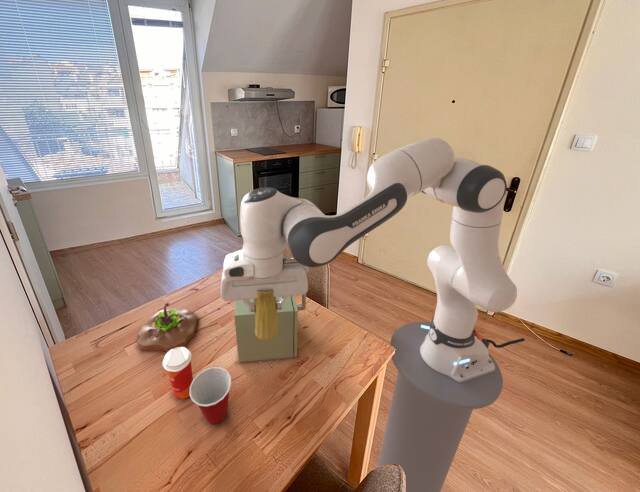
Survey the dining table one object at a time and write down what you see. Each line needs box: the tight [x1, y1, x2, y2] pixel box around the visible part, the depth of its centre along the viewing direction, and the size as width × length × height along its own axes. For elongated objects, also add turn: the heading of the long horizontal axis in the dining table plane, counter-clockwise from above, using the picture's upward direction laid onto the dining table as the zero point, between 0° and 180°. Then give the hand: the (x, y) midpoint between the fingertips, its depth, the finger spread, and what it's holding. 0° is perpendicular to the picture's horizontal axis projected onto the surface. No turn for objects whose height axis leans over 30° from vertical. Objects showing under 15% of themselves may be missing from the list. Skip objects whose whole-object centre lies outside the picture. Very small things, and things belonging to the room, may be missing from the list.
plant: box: [136, 301, 199, 353], centre depth 106 cm, size 20×20×11 cm
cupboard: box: [233, 296, 294, 363], centre depth 101 cm, size 18×20×20 cm
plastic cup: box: [189, 366, 232, 425], centre depth 78 cm, size 11×11×12 cm
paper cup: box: [162, 346, 194, 400], centre depth 84 cm, size 8×8×14 cm
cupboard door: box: [291, 293, 307, 358], centre depth 102 cm, size 7×20×19 cm, turn 5°
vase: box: [254, 289, 279, 340], centre depth 71 cm, size 6×6×14 cm
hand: (265, 309), depth 71 cm, fingers closed on vase, 5 cm apart
